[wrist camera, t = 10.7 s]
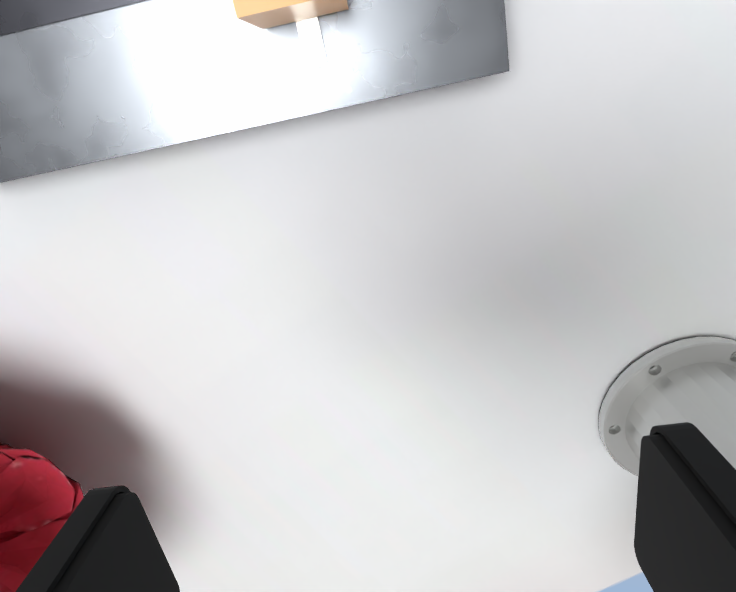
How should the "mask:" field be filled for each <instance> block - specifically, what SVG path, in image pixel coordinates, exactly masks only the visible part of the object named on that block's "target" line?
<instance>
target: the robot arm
mask: <svg viewBox="0 0 736 592" xmlns="http://www.w3.org/2000/svg"><path fill="white" fill-rule="evenodd" d="M598 427H599V432H600V437H601V440H602V442H603V444H604V446H605V448H606V449H607V451H608V452H609V454H610V455H611V457H612V458H613V459H614V461H615V462H616V463H618V464H619V465H620V466H621V467H622V468H623V469H625V470H627V471H629V472H630V473H632V474H634V475H637V476H639V478H638V493H637V508H636V523H635V538H634V548H635V553H636V557H637V560H638V563H639V565H640V567H641V569H642V571H643V573H644V574H645V576H646V578H647V580H648V582H649V584H650V586H651V587H652V589H653V591H654V592H736V341H735V340H732V339H727V338H721V337H694V338H688V339H683V340H679V341H676V342H673V343H670V344H667V345H664V346H661V347H659V348H657V349H655V350H653V351H651V352H649V353H647V354H646V355H644V356H643V357H641V358H640V359H638V360H637V361H636V362H634V363H633V364H631V365H630V366H629V367H628V368H627V369H626V370H625V371H624V372H623V373H622V374H621V375H620V376H619V377H618V378H617V379H616V381H615V382H614V383H613V385H612V386H611V387H610V389H609V391H608V392H607V394H606V396H605V398H604V400H603V403H602V406H601V410H600V413H599V426H598ZM15 592H180V589H179V585H178V583H177V581H176V579H175V576H174V574H173V572H172V570H171V568H170V566H169V563H168V561H167V559H166V557H165V555H164V553H163V550H162V548H161V546H160V544H159V542H158V540H157V537H156V535H155V533H154V531H153V529H152V526H151V524H150V522H149V520H148V518H147V516H146V513H145V511H144V509H143V507H142V505H141V503H140V500H139V498H138V496H137V495H136V494H135V493H131V492H130V491H129V489H128V488H127V487H125V486H114V487H105V488H96V489H92V490H90V491H89V492H88V493H87V494H86V495H85V496H84V498H83V499H82V500H81V502H80V503H79V505H78V506H77V507H76V509H75V510H74V512H73V513H72V514H71V516H70V517H69V518H68V520H67V521H66V523H65V524H64V525H63V527H62V528H61V529H60V531H59V532H58V534H57V535H56V536H55V538H54V539H53V540H52V542H51V543H50V545H49V546H48V547H47V549H46V550H45V551H44V553H43V554H42V556H41V557H40V558H39V560H38V561H37V563H36V564H35V565H34V567H33V568H32V569H31V571H30V572H29V574H28V575H27V576H26V578H25V579H24V580H23V582H22V583H21V585H20V586H19V587H18V589H17V590H16V591H15Z"/></svg>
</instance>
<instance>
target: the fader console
mask: <svg viewBox="0 0 736 592" xmlns="http://www.w3.org/2000/svg"><path fill="white" fill-rule="evenodd" d="M347 4H348V9H347V10H343V11H339V12H335V13H330V14H326V15H322V16H317V17H313V18H309V19H305V20H300V21H296V22H292V23H287V24H283V25H279V26H275V27H270V28H266V29H261V28H259V27H256V26H254V25H252V24H250V23H247V22H245V21H243V20H240V19H238V18H237V16H236V12H235V8H234V5H233V1H232V0H0V182H5V181H9V180H14V179H19V178H23V177H28V176H32V175H37V174H41V173H46V172H50V171H55V170H60V169H64V168H69V167H73V166H78V165H82V164H87V163H92V162H96V161H101V160H105V159H110V158H114V157H119V156H124V155H128V154H133V153H137V152H142V151H146V150H151V149H156V148H160V147H165V146H169V145H174V144H178V143H183V142H187V141H192V140H197V139H201V138H206V137H210V136H215V135H219V134H224V133H229V132H233V131H238V130H242V129H247V128H251V127H256V126H261V125H265V124H270V123H274V122H279V121H283V120H288V119H293V118H297V117H302V116H306V115H311V114H315V113H320V112H325V111H329V110H334V109H338V108H343V107H347V106H352V105H356V104H361V103H366V102H370V101H375V100H379V99H384V98H388V97H393V96H398V95H402V94H407V93H411V92H416V91H420V90H425V89H430V88H434V87H439V86H443V85H448V84H452V83H457V82H462V81H466V80H471V79H475V78H480V77H484V76H489V75H493V74H498V73H503V72H507V71H509V60H508V47H507V33H506V20H505V6H504V0H347Z"/></svg>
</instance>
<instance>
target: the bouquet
mask: <svg viewBox="0 0 736 592" xmlns="http://www.w3.org/2000/svg"><path fill="white" fill-rule="evenodd" d="M83 498H84V496H83V493H82V490H81V487H80V484H79V483H78V482H76V481H75V480H73V479H71V478H70V477H68V476H66V475H65V474H64V473H62V472H61V471H60V470H59V469H58V468H57V467H56V466H55V465H54V464H53V463H52V462H51V461H50V460H49V459H47V458H45V457H43V456H41V455H39V454H38V453H36V452H34V451H32V450H30V449H17V448H12V447H11V446H10V445H9V444H0V592H15V591H16V590H17V589H18V587H19V586H20V585H21V583H22V582H23V580H24V579H25V578H26V576H27V575H28V574H29V572H30V571H31V569H32V568H33V567H34V565H35V564H36V563H37V561H38V560H39V558H40V557H41V556H42V554H43V553H44V551H45V550H46V549H47V547H48V546H49V545H50V543H51V542H52V540H53V539H54V538H55V536H56V535H57V534H58V532H59V531H60V529H61V528H62V527H63V525H64V524H65V523H66V521H67V520H68V518H69V517H70V516H71V514H72V513H73V512H74V510H75V509H76V507H77V506H78V505H79V503H80V502H81V500H82V499H83Z"/></svg>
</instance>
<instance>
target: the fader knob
mask: <svg viewBox="0 0 736 592" xmlns="http://www.w3.org/2000/svg"><path fill="white" fill-rule="evenodd" d="M232 1H233V5H234V8H235V12H236V16H237V18H238V19H240V20H243V21H245V22H247V23H250V24H252V25H254V26H256V27H259V28H261V29H266V28H270V27H275V26H279V25H283V24H287V23H292V22H296V21H300V20H305V19H309V18H313V17H317V16H322V15H326V14H330V13H335V12H339V11H343V10H347V9H348V4H347V0H232Z"/></svg>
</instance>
